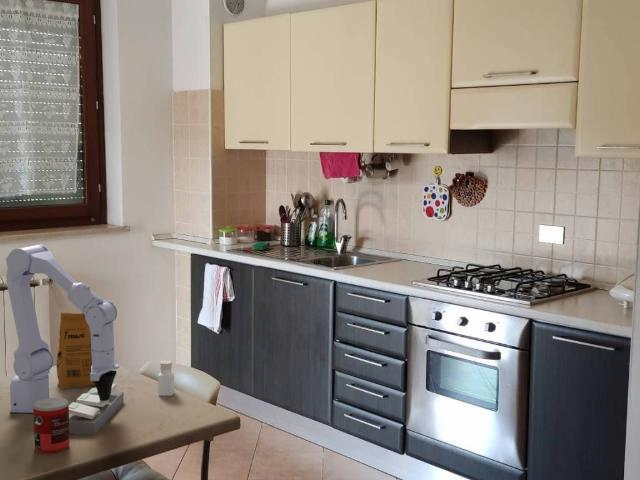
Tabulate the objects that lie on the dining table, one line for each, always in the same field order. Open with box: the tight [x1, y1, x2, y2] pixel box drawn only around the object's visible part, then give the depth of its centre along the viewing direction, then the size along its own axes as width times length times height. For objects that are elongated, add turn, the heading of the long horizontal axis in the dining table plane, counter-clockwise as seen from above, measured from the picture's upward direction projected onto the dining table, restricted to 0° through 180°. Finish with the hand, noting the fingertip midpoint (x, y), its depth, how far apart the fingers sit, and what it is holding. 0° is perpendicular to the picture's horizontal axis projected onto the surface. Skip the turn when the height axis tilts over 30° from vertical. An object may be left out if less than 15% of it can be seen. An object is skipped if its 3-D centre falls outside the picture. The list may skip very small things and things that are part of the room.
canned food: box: [32, 397, 71, 454], centre depth 187 cm, size 8×8×11 cm
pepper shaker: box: [157, 360, 175, 397], centre depth 227 cm, size 4×4×10 cm
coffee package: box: [56, 311, 96, 390], centre depth 234 cm, size 10×12×22 cm
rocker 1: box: [85, 383, 118, 396], centre depth 216 cm, size 7×5×2 cm
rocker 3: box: [69, 401, 100, 420], centre depth 200 cm, size 7×5×2 cm
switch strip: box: [69, 391, 125, 435], centre depth 210 cm, size 9×28×3 cm, turn 177°
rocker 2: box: [75, 393, 109, 407], centre depth 208 cm, size 7×5×2 cm
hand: (104, 399), depth 207 cm, fingers closed, pressing on rocker 2
